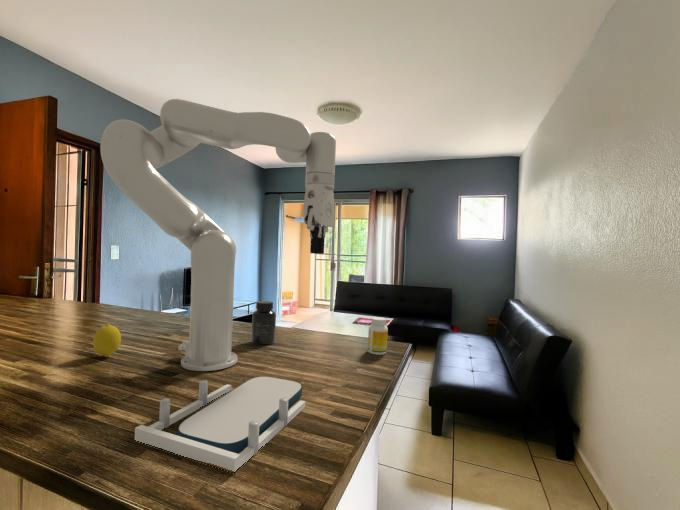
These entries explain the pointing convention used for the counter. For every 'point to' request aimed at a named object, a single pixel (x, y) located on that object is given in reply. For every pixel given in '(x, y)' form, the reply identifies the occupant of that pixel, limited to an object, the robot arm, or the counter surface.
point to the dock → (204, 451)
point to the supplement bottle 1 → (263, 324)
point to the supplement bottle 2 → (377, 336)
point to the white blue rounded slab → (240, 413)
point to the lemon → (107, 340)
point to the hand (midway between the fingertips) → (317, 253)
